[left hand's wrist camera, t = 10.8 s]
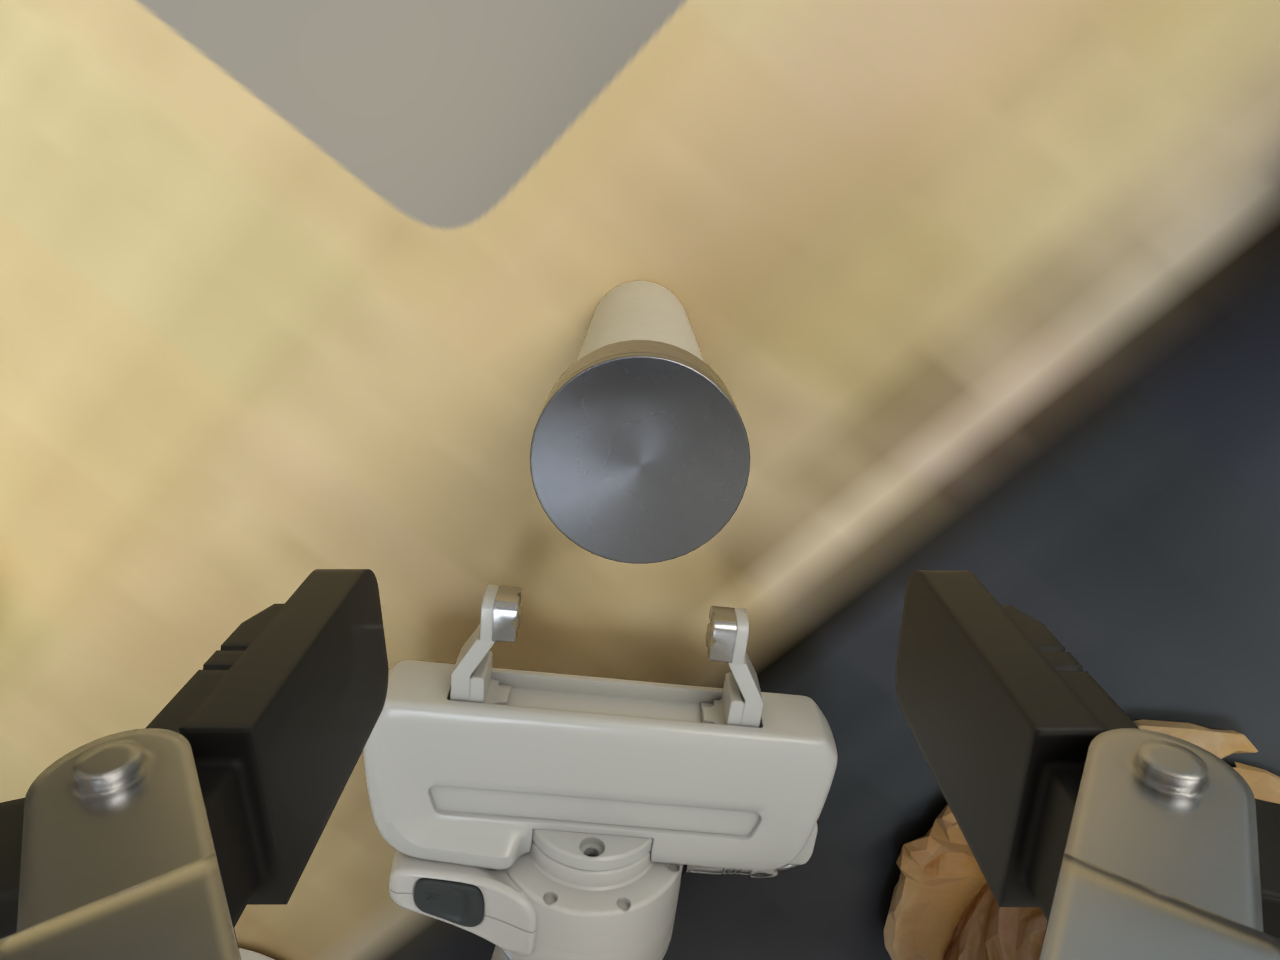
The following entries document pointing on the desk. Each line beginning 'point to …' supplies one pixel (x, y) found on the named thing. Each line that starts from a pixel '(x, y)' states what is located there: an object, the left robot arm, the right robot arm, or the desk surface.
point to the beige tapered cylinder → (639, 318)
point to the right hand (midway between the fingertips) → (617, 602)
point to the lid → (640, 453)
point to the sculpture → (961, 898)
